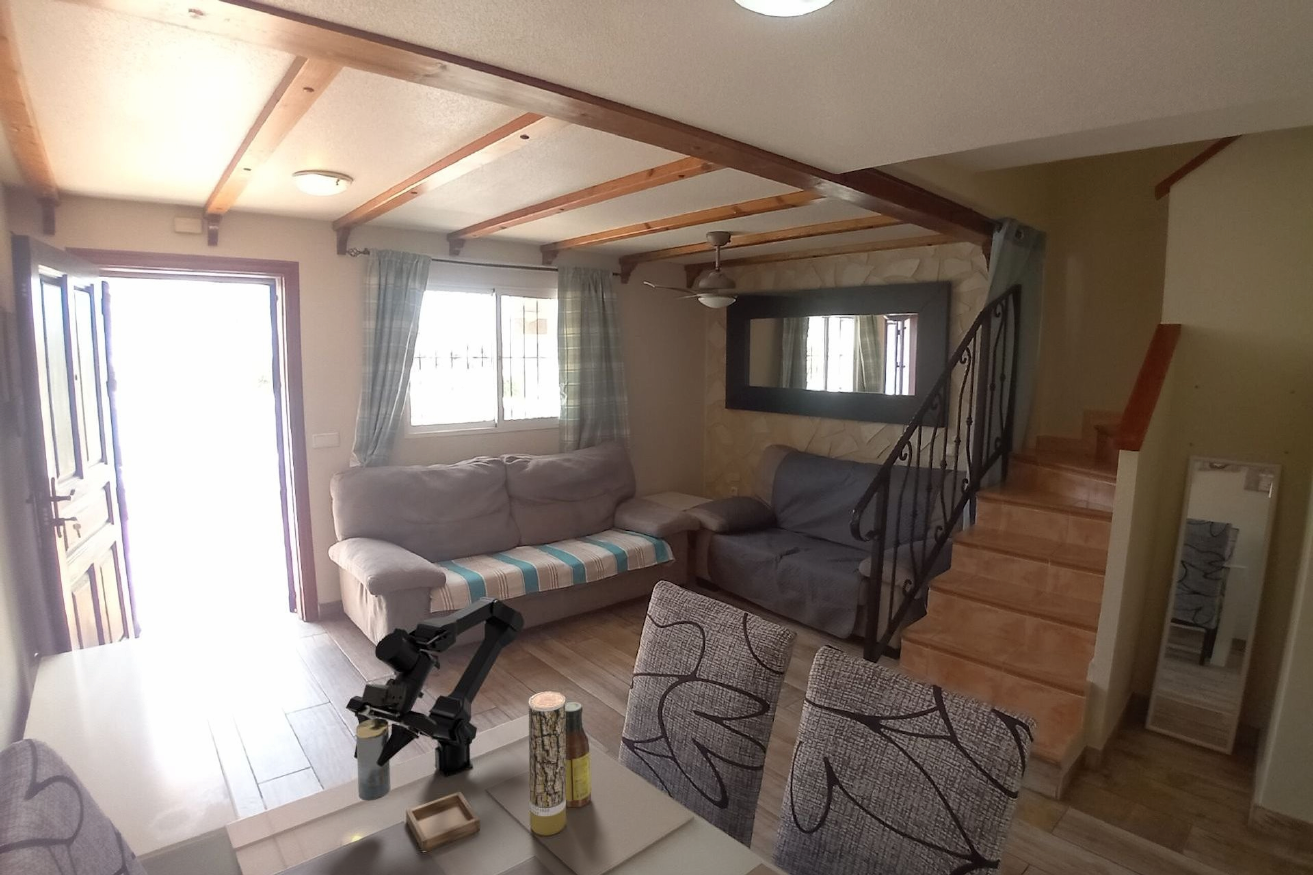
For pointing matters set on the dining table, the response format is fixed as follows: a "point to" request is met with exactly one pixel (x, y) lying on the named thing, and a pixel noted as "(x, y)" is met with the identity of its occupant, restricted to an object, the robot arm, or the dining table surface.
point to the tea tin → (372, 759)
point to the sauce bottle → (576, 758)
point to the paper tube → (547, 762)
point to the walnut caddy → (442, 821)
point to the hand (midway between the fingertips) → (367, 761)
